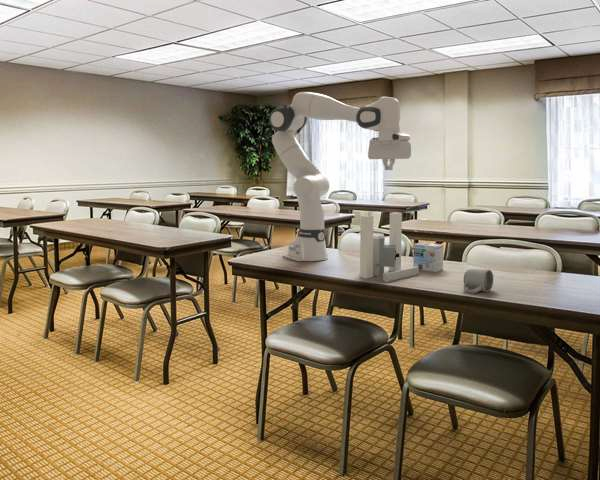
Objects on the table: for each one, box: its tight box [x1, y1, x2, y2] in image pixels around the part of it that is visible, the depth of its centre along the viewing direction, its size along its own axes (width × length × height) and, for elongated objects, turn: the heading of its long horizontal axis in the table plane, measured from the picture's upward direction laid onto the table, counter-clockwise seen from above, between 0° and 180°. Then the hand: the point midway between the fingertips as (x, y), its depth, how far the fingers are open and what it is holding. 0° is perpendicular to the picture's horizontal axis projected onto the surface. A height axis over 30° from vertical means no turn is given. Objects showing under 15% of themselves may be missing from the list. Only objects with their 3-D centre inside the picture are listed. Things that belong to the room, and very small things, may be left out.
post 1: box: [359, 215, 374, 279], centre depth 206 cm, size 4×4×24 cm
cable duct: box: [382, 266, 420, 283], centre depth 207 cm, size 2×20×3 cm, turn 132°
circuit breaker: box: [373, 235, 399, 277], centre depth 213 cm, size 8×14×15 cm, turn 78°
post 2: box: [388, 211, 403, 272], centre depth 218 cm, size 4×4×24 cm
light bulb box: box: [412, 241, 445, 273], centre depth 222 cm, size 11×7×11 cm, turn 47°
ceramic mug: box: [463, 268, 494, 294], centre depth 184 cm, size 11×8×8 cm
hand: (388, 170), depth 223 cm, fingers closed
